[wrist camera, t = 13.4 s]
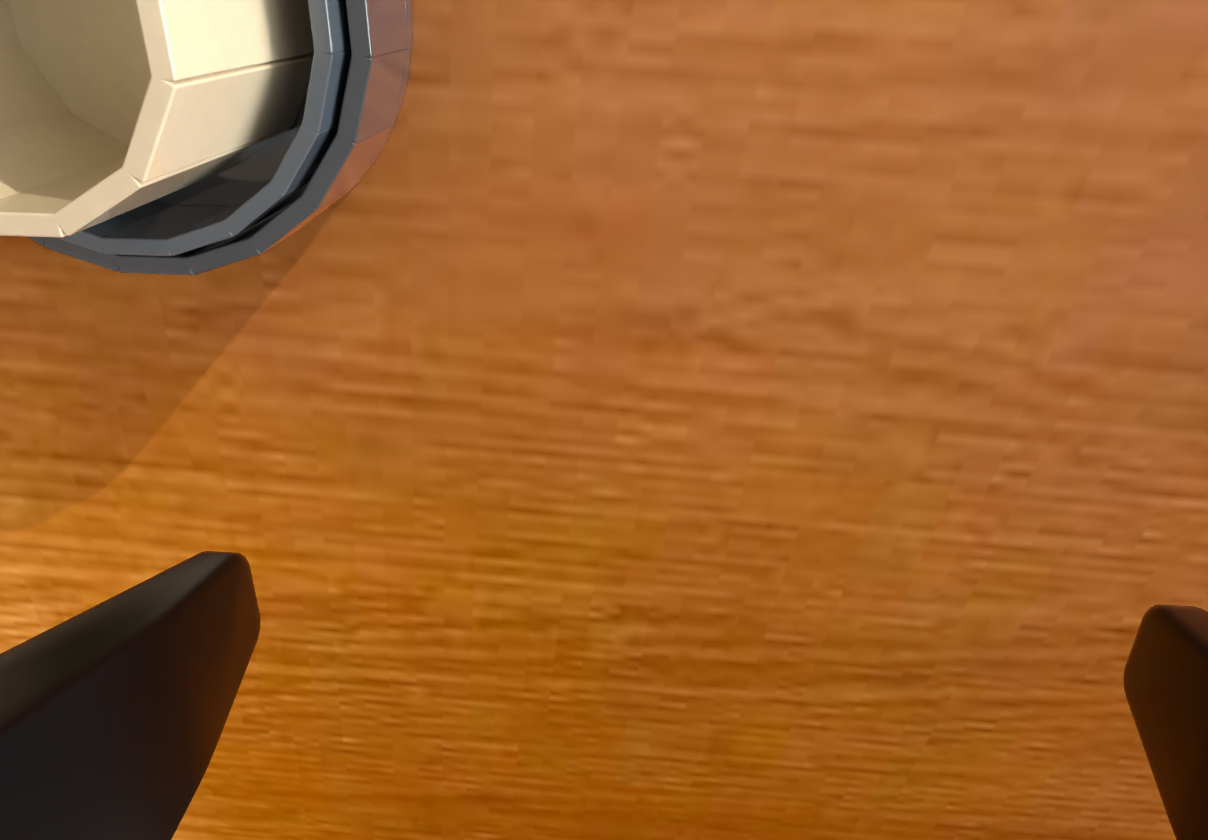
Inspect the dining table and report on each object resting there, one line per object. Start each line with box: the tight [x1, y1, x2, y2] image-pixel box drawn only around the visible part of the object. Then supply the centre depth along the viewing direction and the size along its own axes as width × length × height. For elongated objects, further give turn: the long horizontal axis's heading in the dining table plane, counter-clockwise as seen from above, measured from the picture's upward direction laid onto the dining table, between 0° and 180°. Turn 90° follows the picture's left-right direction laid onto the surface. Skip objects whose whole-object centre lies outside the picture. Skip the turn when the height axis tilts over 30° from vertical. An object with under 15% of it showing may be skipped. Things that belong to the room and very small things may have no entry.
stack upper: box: [54, 0, 351, 256], centre depth 17 cm, size 9×9×4 cm
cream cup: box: [0, 0, 314, 238], centre depth 16 cm, size 7×7×6 cm
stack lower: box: [28, 0, 413, 275], centre depth 18 cm, size 10×10×3 cm
